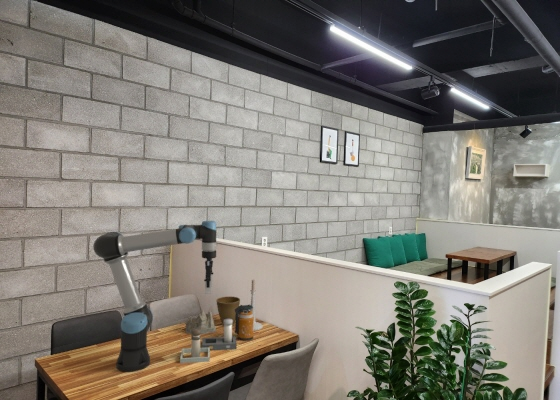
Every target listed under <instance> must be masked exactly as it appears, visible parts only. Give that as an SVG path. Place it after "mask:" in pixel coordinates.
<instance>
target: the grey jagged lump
mask: <svg viewBox="0 0 560 400" xmlns="http://www.w3.org/2000/svg"><path fill="white" fill-rule="evenodd" d="M215 321H216V320H215V319H214V318H213V314H212V310H209V311H208V312H207V313H206V312H205V311H204V309H201V311H200V314H198V315H197V316H196V317H192V316H191V315H190V316H189V317H188V318H187V320H186V321H185V322H184V325H185V331H184V332H185V333H186V334H188V335H191V330H192V329H195V328H199V329H201V334H200V335H206V334H212V333H215V332H216V331H217V328H216V325H215Z"/></svg>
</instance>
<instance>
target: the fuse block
mask: <svg viewBox="0 0 560 400" xmlns="http://www.w3.org/2000/svg"><path fill="white" fill-rule="evenodd" d="M237 343H238V342H237V337H236V336H232V342H224V336H217V337H216V336H215V337H214V336H213V337H212V336H210V337H202V341H201V348H209V347H210V351H225V350H226V351H228V350H237V345H238V344H237Z"/></svg>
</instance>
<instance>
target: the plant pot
mask: <svg viewBox="0 0 560 400" xmlns="http://www.w3.org/2000/svg"><path fill="white" fill-rule="evenodd" d="M240 303H241V299H240V298H239V297H237V296H221V297H219V298H217V299H216V307H217V312H218V315H219V319H220V322H221V325H222V326H223V327H224V319H232V320H233V324H232V327H233V326H234V325H235V322H236V319H235V315H236V313H235V309H236V308H237V307H239V306H240V305H241V304H240Z"/></svg>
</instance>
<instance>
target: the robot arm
mask: <svg viewBox="0 0 560 400" xmlns="http://www.w3.org/2000/svg"><path fill="white" fill-rule="evenodd" d="M195 240H201V250H202V251H201V258H202V259H206V260H205V262H204V265H205V266H204V267H205V278H204V280H203V281H204V282H205V283H204V285H205V290H204V291H205V294H206V295H208V294H209V295H210V294H212V288H213V275H214V272H213V265H214V261H213V259H216V257H217V246H218V243H217V222H216V221H214V220H204V221H202V223H201V224H180V225H179V226H178V228H174V229H168V230H159V231H154V232H146V233H140V234H133V235H126V236H124V235H123V234H121V233H120V232H117V231H109V232H106V233H104V234H102V235H100V236H98V237H97V238H96V239H95V240H94V243H93V252H94V254H95V255H96V256H98V257H99V258H102V259H103V261H104V263H105V264H107V265H108V266H109V268H110V271H111V274H112V276H113V279H114V282H115V284H116V287H117V290H118V293H119V296H120V298H121V301H122V304H123V306H124V310H123V311H122V313H123V316H122V319H121V322H120V351H119V354H118V357H117V360H116V366H115V367H116V369H117V370H118V371H120V372H124V373H126V372H127V373H129V372H132V373H133V372H138V371H141V370H144V369H146V368H147V367H149V366H150V364H151V356H150V353H149V349H148V348H147V347H148V346H147V342H148V337H147V336H148V331H149V329H150V327H151V326H152V323H153V320H154V315H153V312H152V310H151V309H150V308H149V307H148V305H147V302H145V301H143V299H142V297H141V294H140V291H139V289H138V286H137V284H136V281H135V277H134V275H133V272H132V270H131V267H130V264H129V262H128V259H127V257H128V255H129V253H130V252H136V251H143V250H148V249H155V248H156V249H157V248H163V247H168V246H173V245H181V244H191V243H193V242H194V241H195Z"/></svg>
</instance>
